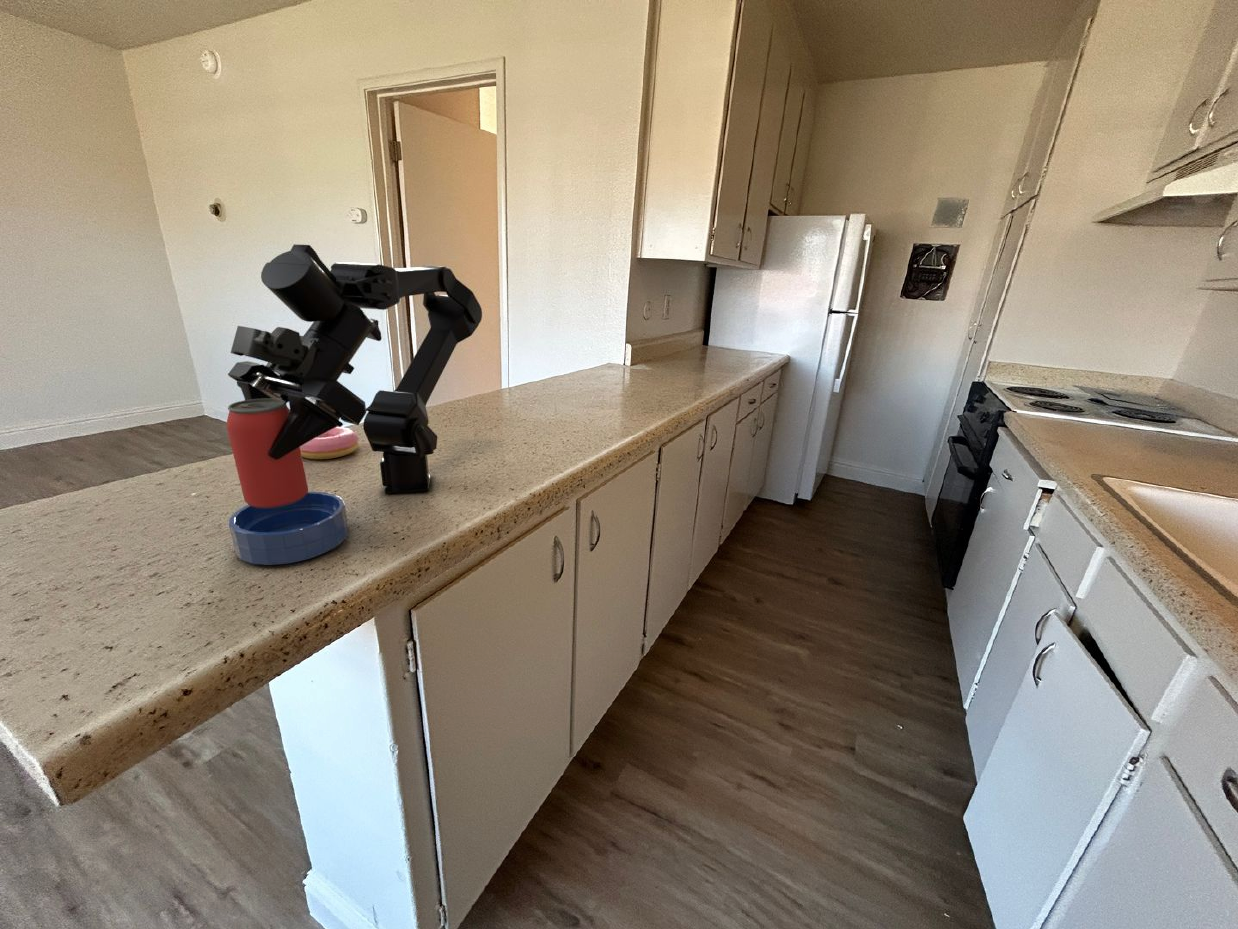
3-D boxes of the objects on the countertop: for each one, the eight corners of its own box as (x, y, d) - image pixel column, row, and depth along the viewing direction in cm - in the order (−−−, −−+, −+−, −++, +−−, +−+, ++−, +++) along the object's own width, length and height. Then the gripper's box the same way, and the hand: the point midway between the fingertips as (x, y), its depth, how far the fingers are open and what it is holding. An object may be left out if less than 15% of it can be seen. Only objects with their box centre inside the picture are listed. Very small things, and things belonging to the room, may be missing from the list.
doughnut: (352, 461, 93) (349, 439, 91) (284, 463, 90) (280, 440, 89) (365, 442, 103) (363, 422, 101) (305, 443, 100) (301, 423, 99)
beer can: (265, 487, 65) (244, 396, 61) (319, 488, 66) (302, 397, 61) (233, 510, 59) (207, 410, 55) (292, 511, 60) (272, 412, 55)
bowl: (356, 517, 72) (352, 488, 71) (337, 562, 61) (332, 529, 60) (257, 525, 69) (251, 494, 67) (219, 573, 58) (210, 538, 56)
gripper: (228, 293, 61) (140, 400, 56) (326, 305, 53) (234, 431, 48) (304, 352, 71) (235, 448, 65) (397, 369, 63) (326, 481, 58)
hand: (254, 451), depth 59 cm, fingers closed on beer can, 6 cm apart
